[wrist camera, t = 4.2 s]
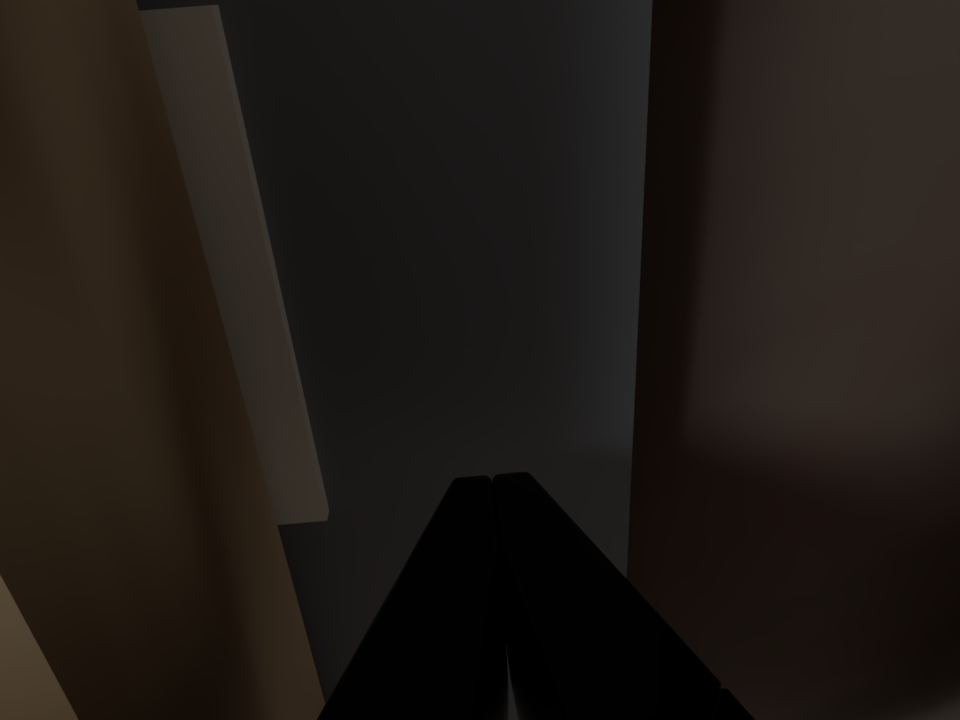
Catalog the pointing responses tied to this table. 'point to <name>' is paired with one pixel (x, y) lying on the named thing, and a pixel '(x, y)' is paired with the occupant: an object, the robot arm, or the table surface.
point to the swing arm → (122, 409)
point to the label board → (416, 261)
